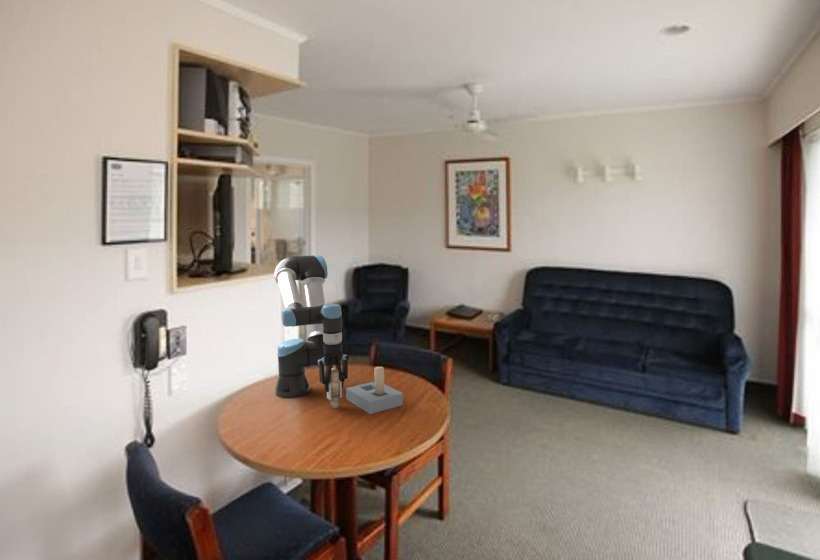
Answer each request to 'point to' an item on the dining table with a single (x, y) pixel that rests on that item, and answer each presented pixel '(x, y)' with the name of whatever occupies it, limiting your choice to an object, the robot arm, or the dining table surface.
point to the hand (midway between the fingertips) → (334, 397)
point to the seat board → (374, 394)
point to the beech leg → (334, 388)
